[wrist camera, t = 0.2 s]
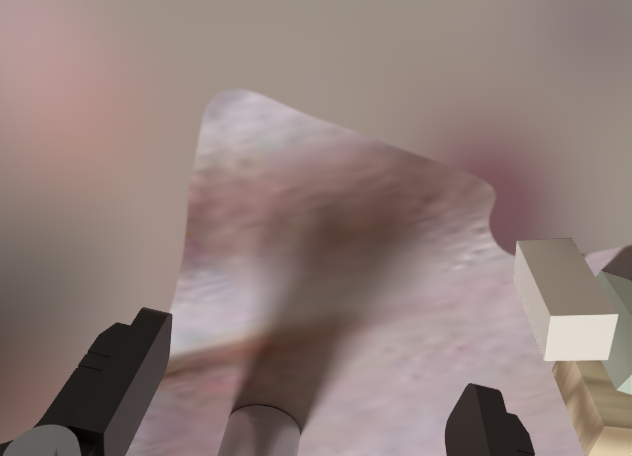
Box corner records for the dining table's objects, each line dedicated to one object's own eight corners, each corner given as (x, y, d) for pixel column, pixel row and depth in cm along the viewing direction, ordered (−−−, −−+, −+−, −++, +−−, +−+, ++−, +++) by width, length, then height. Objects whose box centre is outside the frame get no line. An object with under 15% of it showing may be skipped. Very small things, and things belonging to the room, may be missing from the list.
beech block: (596, 375, 51) (640, 465, 42) (552, 370, 51) (586, 458, 43) (611, 344, 49) (661, 432, 40) (565, 339, 49) (604, 425, 40)
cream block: (564, 279, 45) (607, 360, 37) (513, 281, 46) (544, 360, 37) (571, 237, 43) (618, 314, 34) (517, 240, 44) (550, 316, 35)
